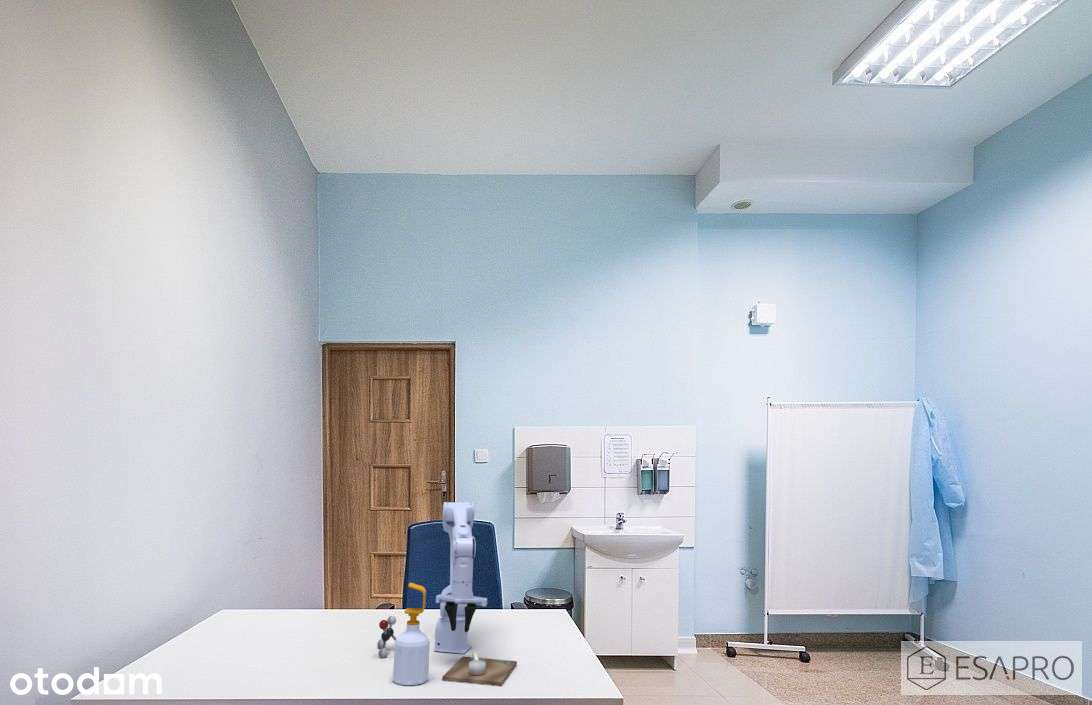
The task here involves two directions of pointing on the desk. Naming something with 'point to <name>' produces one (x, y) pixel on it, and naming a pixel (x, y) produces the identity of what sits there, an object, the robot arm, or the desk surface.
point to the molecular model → (386, 635)
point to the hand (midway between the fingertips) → (460, 630)
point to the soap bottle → (412, 649)
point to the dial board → (493, 675)
